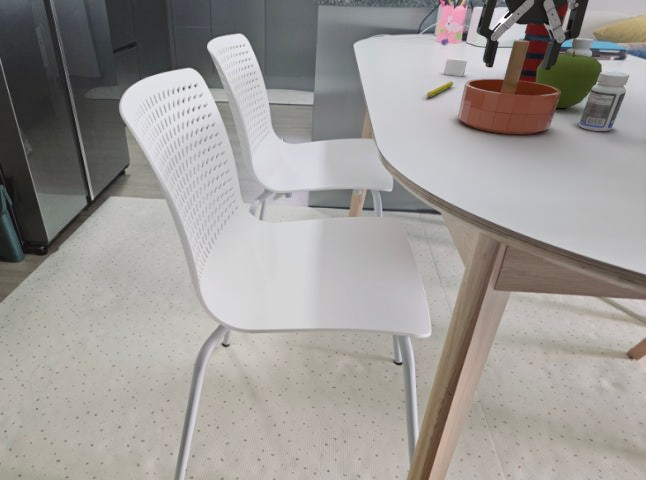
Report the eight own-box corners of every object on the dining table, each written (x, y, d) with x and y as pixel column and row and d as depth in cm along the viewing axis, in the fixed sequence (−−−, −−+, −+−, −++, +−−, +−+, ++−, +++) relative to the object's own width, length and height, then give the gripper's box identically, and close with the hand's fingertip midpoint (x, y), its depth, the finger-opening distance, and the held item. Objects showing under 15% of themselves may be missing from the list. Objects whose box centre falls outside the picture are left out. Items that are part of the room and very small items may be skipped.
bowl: (533, 116, 83) (544, 80, 80) (561, 138, 72) (575, 97, 68) (451, 112, 85) (458, 77, 82) (465, 133, 73) (475, 93, 70)
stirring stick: (505, 119, 79) (527, 40, 72) (508, 122, 77) (531, 41, 71) (491, 118, 79) (512, 39, 73) (494, 121, 77) (516, 41, 71)
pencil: (448, 86, 106) (448, 81, 106) (452, 86, 106) (453, 81, 105) (423, 98, 94) (424, 93, 94) (428, 98, 94) (429, 93, 94)
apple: (549, 114, 85) (568, 54, 80) (515, 101, 94) (530, 47, 88) (601, 113, 86) (624, 54, 81) (563, 100, 95) (581, 46, 90)
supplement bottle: (582, 88, 107) (599, 40, 102) (556, 86, 109) (571, 39, 104) (579, 84, 112) (594, 38, 106) (554, 82, 113) (568, 37, 108)
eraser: (444, 73, 122) (447, 58, 119) (463, 75, 120) (467, 59, 118) (443, 74, 121) (446, 58, 119) (462, 76, 119) (466, 60, 117)
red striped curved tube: (541, 95, 100) (584, -46, 86) (506, 91, 103) (543, -46, 89) (548, 77, 118) (586, -41, 105) (519, 75, 121) (551, -41, 108)
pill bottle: (596, 123, 80) (616, 70, 75) (617, 131, 76) (640, 75, 71) (571, 124, 79) (590, 71, 74) (592, 132, 75) (613, 76, 71)
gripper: (504, -60, 63) (474, 70, 72) (618, -60, 61) (573, 73, 70) (491, -57, 69) (466, 63, 78) (594, -56, 67) (556, 66, 76)
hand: (516, 68), depth 74 cm, fingers open, 8 cm apart
